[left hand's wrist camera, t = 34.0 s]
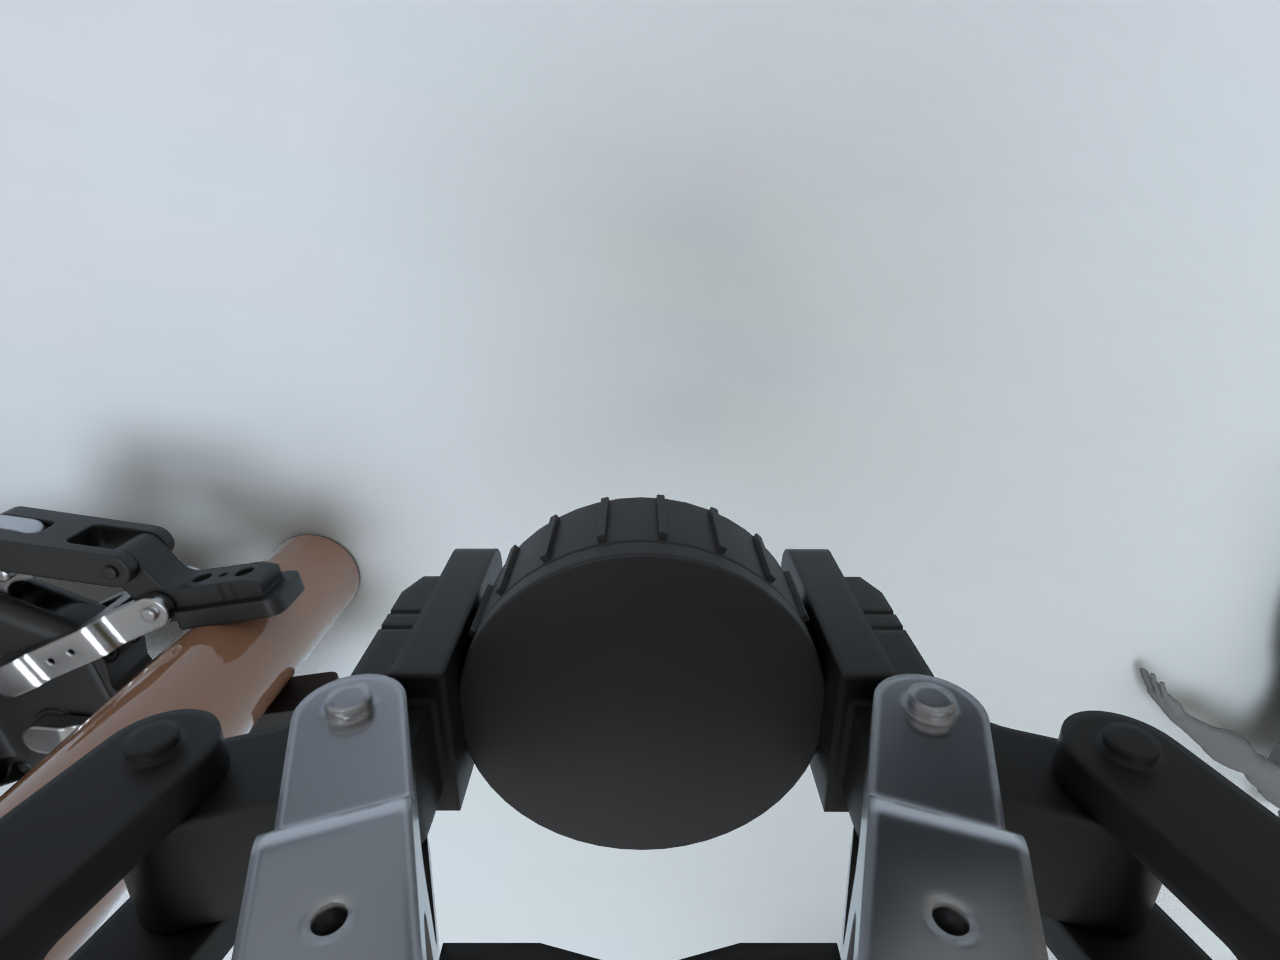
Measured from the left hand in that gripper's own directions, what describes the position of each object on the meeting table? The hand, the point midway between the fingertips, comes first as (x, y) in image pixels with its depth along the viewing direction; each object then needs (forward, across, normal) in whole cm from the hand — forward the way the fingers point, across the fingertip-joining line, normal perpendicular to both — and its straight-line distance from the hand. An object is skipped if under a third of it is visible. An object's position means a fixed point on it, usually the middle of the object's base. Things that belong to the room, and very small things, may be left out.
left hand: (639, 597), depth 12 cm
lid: (-3, 0, 0) cm, 3 cm away
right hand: (+11, +12, +9) cm, 19 cm away
